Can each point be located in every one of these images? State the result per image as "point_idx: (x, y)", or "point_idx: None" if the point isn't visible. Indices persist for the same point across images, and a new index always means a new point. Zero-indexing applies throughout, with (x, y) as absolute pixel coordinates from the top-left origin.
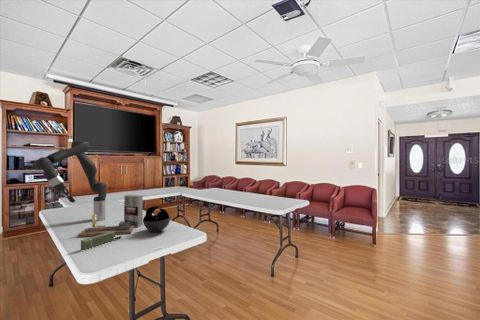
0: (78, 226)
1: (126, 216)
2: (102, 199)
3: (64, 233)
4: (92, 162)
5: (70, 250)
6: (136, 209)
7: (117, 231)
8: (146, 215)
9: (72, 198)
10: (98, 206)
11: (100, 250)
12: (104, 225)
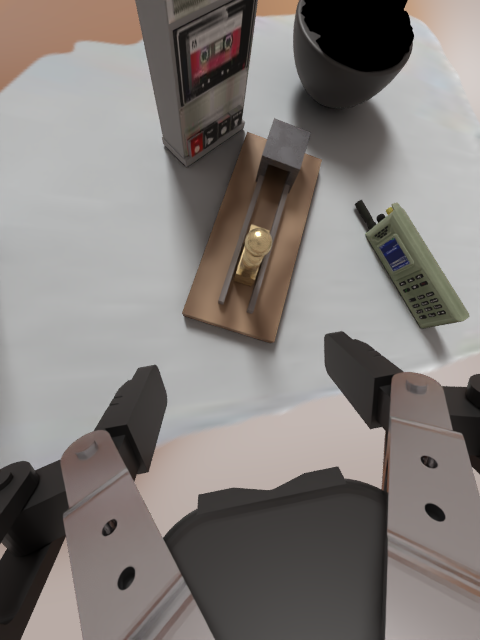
0: (59, 350)
1: (191, 111)
2: None
3: (167, 406)
4: None
5: (411, 359)
6: (248, 20)
7: (304, 200)
8: (393, 33)
9: (392, 367)
10: None
11: None
12: (251, 228)
